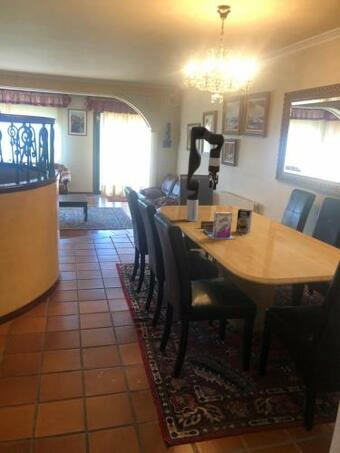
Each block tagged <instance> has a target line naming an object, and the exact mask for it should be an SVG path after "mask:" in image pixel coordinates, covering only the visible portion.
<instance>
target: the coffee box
mask: <svg viewBox="0 0 340 453" xmlns="http://www.w3.org/2000/svg"><path fill="white" fill-rule="evenodd" d="M252 216H253V210H252V209H246V208H245V209H244V208H238V209H237V218H236V228H235V231H236V232H239V233H246V234H249V233H250V232H251V227H252Z"/></svg>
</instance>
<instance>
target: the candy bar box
mask: <svg viewBox="0 0 340 453" xmlns="http://www.w3.org/2000/svg"><path fill="white" fill-rule="evenodd" d="M213 214H214V216H213V221H214V224H213V236H214V237H230V235H231V229H232V222H233V213H232V212H229V211H228V212H227V211H214V213H213Z"/></svg>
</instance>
